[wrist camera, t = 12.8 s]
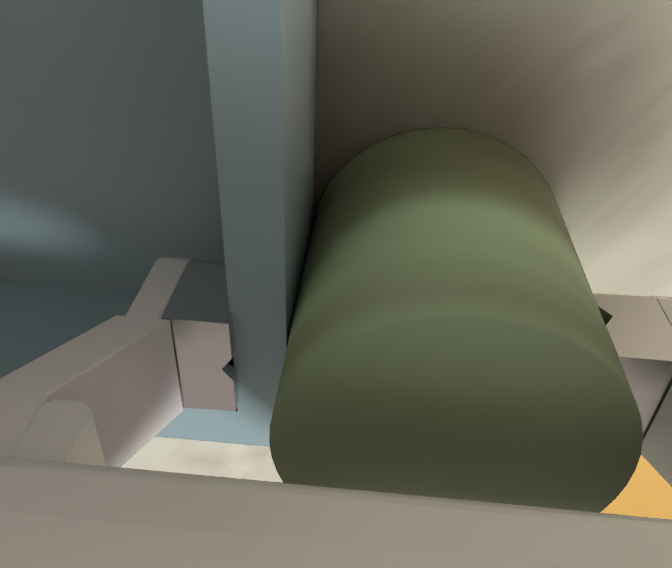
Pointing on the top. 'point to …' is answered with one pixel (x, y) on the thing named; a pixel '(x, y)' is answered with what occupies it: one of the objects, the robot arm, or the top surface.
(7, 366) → the bin
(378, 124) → the top surface
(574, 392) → the green cylinder
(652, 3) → the top surface
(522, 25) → the top surface
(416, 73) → the top surface
